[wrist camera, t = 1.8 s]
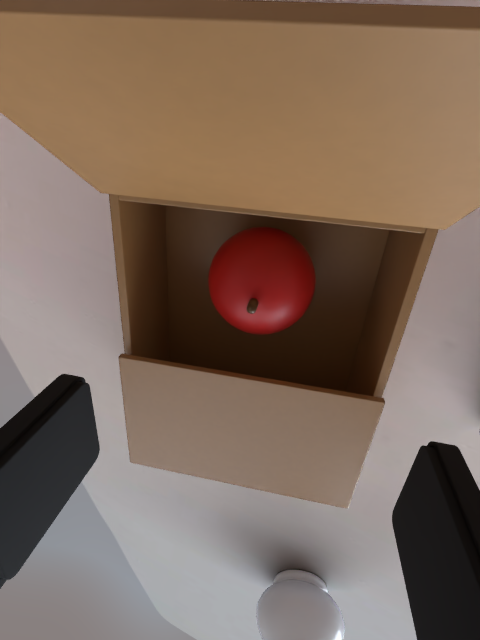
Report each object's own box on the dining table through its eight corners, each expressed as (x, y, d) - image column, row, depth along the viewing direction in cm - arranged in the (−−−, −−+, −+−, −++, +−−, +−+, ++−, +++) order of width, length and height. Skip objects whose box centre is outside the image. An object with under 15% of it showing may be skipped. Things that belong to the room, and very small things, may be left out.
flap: (100, 193, 16) (101, 184, 16) (444, 230, 14) (446, 220, 14) (-131, 7, 7) (-128, -12, 7) (731, 39, 5) (734, 12, 5)
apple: (224, 212, 22) (189, 239, 15) (323, 223, 21) (328, 256, 15) (219, 301, 25) (188, 354, 18) (306, 313, 24) (305, 373, 18)
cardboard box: (160, 177, 22) (98, 190, 16) (404, 201, 20) (447, 227, 14) (167, 396, 30) (129, 463, 24) (340, 428, 28) (348, 510, 22)
